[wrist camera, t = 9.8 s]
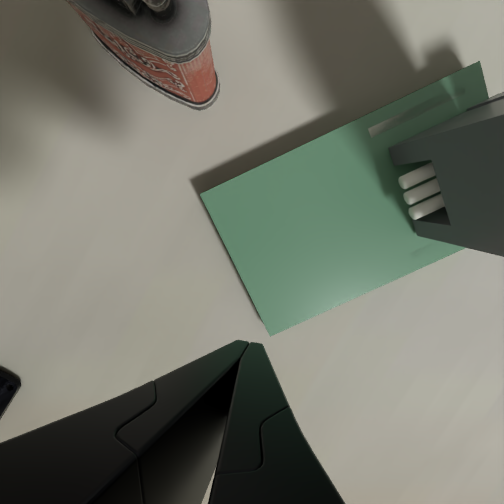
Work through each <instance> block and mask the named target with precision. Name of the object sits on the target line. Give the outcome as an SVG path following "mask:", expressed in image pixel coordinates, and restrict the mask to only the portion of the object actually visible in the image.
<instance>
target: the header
mask: <svg viewBox="0 0 504 504" xmlns="http://www.w3.org/2000/svg"><path fill="white" fill-rule="evenodd" d="M501 99H504V92H502V93H500V94H497V95H495V96H493V97H491V98H488V99H486V100H484V101H482V102H480V103H478V104H476V105H474V106H472V107H469V108H467V111H469V110H472V109H475V108H478V107H481V106H484V105H487V104H489V103H492V102H495V101H498V100H501ZM435 175H436V174H435V171H434V168H433V164H432V162H431V163H428V164H426V165H424V166H422V167H420V168H418V169H416V170H413V171H411V172H409V173H407V174H405V175H403V176H401V177H399V179H398V181H399V185H400V186H401V187H402V188H403V189H407V188H409V187H411V186H413V185H415V184H418V183H420V182H422V181H424V180H426V179H428V178H431V177H433V176H435ZM439 191H440V188H439V184H438V181H437V178H435V179H433V180H431V181H429V182H427V183H424V184H422V185H420V186H418V187H416V188H414V189H411V190H409V191H407V192H405V193H404V195H403V196H404V200H405V201H406V203H407V204H409V205H411V204H413V203H415V202H417V201H420V200H422V199H424V198H426V197H428V196H430V195H433V194H435V193H437V192H439ZM442 207H445V204H444V201H443V198H442V194H439V195H437V196H434V197H432V198H430V199H428V200H426V201H424V202H421V203H419V204H417V205H415V206H413V207H411V208H409V210H408V211H409V215H410V216H411V218H412V219H414V220H416V219H418V218H421V217H423V216H425V215H427V214H429V213H432V212H434V211H436V210H438V209H440V208H442Z"/></svg>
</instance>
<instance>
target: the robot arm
mask: <svg viewBox="0 0 504 504" xmlns="http://www.w3.org/2000/svg"><path fill="white" fill-rule="evenodd" d="M11 385H12V386H13V387H12V386H11ZM20 387H21V382H20V381H19V380H18V379H16V378H14V377H12V376H10V375H8V374H6V373H4V372H2V371H0V419H1V418H2V416H3V414H4V413H5V411H6V410H7V408H8V406H9V405H10V403H11V402H12V400H13V398H14V397H15V395H16V394H17V392H18V390H19V389H20ZM216 465H217V466H216ZM215 467H216V470H215ZM214 470H215V475H214V479H213V483H212V488H211V492H210V497H209V502H208V504H345V502H344V501H343V499H342V497H341V496H340V494H339V493H338V491H337V489H336V488H335V486H334V485H333V483H332V481H331V480H330V478H329V476H328V475H327V473H326V472H325V470H324V468H323V467H322V465H321V464H320V462H319V460H318V459H317V457H316V456H315V454H314V452H313V451H312V449H311V447H310V445H309V444H308V442H307V440H306V439H305V437H304V435H303V433H302V431H301V429H300V427H299V425H298V423H297V421H296V419H295V417H294V414H293V412H292V410H291V408H290V406H289V404H288V401H287V399H286V397H285V395H284V392H283V390H282V388H281V385H280V383H279V381H278V378H277V376H276V374H275V372H274V369H273V367H272V365H271V362H270V360H269V358H268V355H267V353H266V351H265V349H264V346H263V345H262V344H260V343H254V342H251V343H249V342H247V341H242V340H236V341H234V342H232V343H230V344H228V345H226V346H223V347H221V348H219V349H217V350H215V351H213V352H211V353H209V354H207V355H205V356H203V357H201V358H199V359H197V360H195V361H193V362H190V363H188V364H186V365H184V366H182V367H180V368H178V369H176V370H174V371H172V372H170V373H168V374H166V375H164V376H162V377H159V378H157V379H155V380H154V381H150V382H148V383H146V384H144V385H142V386H140V387H138V388H135V389H133V390H131V391H129V392H127V393H124V394H122V395H120V396H118V397H115V398H113V399H110V400H108V401H105V402H103V403H100V404H98V405H96V406H93V407H90V408H88V409H85V410H83V411H80V412H78V413H75V414H73V415H70V416H68V417H65V418H63V419H60V420H57V421H55V422H52V423H50V424H47V425H45V426H42V427H40V428H37V429H35V430H32V431H30V432H27V433H24V434H22V435H19V436H17V437H14V438H12V439H9V440H7V441H4V442H2V443H0V504H201V503H202V500H203V498H204V495H205V493H206V490H207V488H208V485H209V483H210V480H211V478H212V475H213V473H214Z"/></svg>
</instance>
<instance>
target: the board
mask: <svg viewBox="0 0 504 504" xmlns="http://www.w3.org/2000/svg"><path fill="white" fill-rule="evenodd" d="M488 98H489V97H488V93H487V88H486V84H485V80H484V76H483V72H482V68H481V64H480V61H478V62H476V63H474V64H472V65H470V66H468V67H466V68H463V69H461V70H459V71H457V72H455V73H453V74H451V75H449V76H447V77H445V78H442V79H440V80H438V81H436V82H434V83H432V84H430V85H428V86H426V87H424V88H422V89H419V90H417V91H415V92H413V93H411V94H409V95H407V96H405V97H403V98H401V99H398V100H396V101H394V102H392V103H390V104H388V105H386V106H384V107H382V108H380V109H377V110H375V111H373V112H371V113H369V114H367V115H365V116H363V117H361V118H359V119H356V120H354V121H352V122H350V123H348V124H346V125H344V126H342V127H340V128H338V129H336V130H333V131H331V132H329V133H327V134H325V135H323V136H321V137H319V138H317V139H315V140H312V141H310V142H308V143H306V144H304V145H302V146H300V147H298V148H296V149H294V150H291V151H289V152H287V153H285V154H283V155H281V156H279V157H277V158H275V159H273V160H270V161H268V162H266V163H264V164H262V165H260V166H258V167H256V168H254V169H252V170H250V171H247V172H245V173H243V174H241V175H239V176H237V177H235V178H233V179H231V180H229V181H226V182H224V183H222V184H220V185H218V186H216V187H214V188H212V189H210V190H208V191H205V192H203V193H201V194H200V196H201V198H202V200H203V202H204V204H205V206H206V208H207V210H208V212H209V214H210V216H211V218H212V220H213V222H214V224H215V226H216V228H217V230H218V232H219V234H220V236H221V238H222V240H223V242H224V244H225V246H226V248H227V250H228V252H229V254H230V256H231V258H232V260H233V262H234V264H235V266H236V268H237V270H238V273H239V275H240V277H241V279H242V281H243V283H244V285H245V287H246V289H247V291H248V293H249V295H250V297H251V299H252V301H253V303H254V305H255V307H256V309H257V311H258V313H259V315H260V317H261V319H262V321H263V323H264V325H265V327H266V329H267V331H268V333H269V335H270V336H272V335H274V334H277V333H279V332H281V331H283V330H285V329H288V328H290V327H292V326H294V325H296V324H299V323H301V322H303V321H305V320H308V319H310V318H312V317H314V316H316V315H319V314H321V313H323V312H325V311H327V310H330V309H332V308H334V307H336V306H338V305H341V304H343V303H345V302H347V301H350V300H352V299H354V298H356V297H358V296H361V295H363V294H365V293H367V292H369V291H372V290H374V289H376V288H378V287H380V286H383V285H385V284H387V283H389V282H391V281H394V280H396V279H398V278H400V277H403V276H405V275H407V274H409V273H411V272H414V271H416V270H418V269H420V268H422V267H425V266H427V265H429V264H431V263H433V262H436V261H438V260H440V259H442V258H445V257H447V256H449V255H451V254H453V253H456V252H458V251H460V250H462V249H464V248H466V247H461V246H457V245H453V244H449V243H445V242H441V241H436V240H432V239H428V238H424V237H420V236H417V234H416V231H415V227H414V224H413V221H412V220H413V219H412V218H411V216H410V215H409V211H408V210H409V208H411V207H413V206H415V205H417V204H419V203H421V202H424V201H426V200H428V199H430V198H432V197H434V196H437V195H439V194H441V191H439V192H437V193H435V194H433V195H430V196H428V197H426V198H424V199H422V200H420V201H417V202H415V203H413V204H411V205H409V204H407V203H406V201H405V200H404V196H403V195H404V193H405V192H407V191H409V190H411V189H414V188H416V187H418V186H420V185H422V184H424V183H427V182H429V181H431V180H433V179H435V178H436V175H435V176H433V177H431V178H428V179H426V180H424V181H422V182H420V183H418V184H415V185H413V186H411V187H409V188H407V189H403V188H402V187H401V186H400V185H399V181H398V179H399V177H401V176H403V175H405V174H407V173H409V172H411V171H413V170H416V169H418V168H420V167H422V166H424V165H426V164H428V163H431V162H432V161H431V160H427V161H421V162H415V163H409V164H402V165H396V166H394V164H393V161H392V158H391V155H390V152H389V149H388V148H389V147H391V146H393V145H395V144H397V143H400V142H402V141H404V140H406V139H408V138H410V137H412V136H414V135H417V134H419V133H421V132H423V131H425V130H427V129H429V128H431V127H433V126H436V125H438V124H440V123H442V122H444V121H446V120H448V119H450V118H453V117H455V116H457V115H459V114H461V113H464V112H466V111H467V108H469V107H472V106H474V105H476V104H478V103H480V102H482V101H484V100H486V99H488Z"/></svg>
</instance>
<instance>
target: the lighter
mask: <svg viewBox="0 0 504 504" xmlns="http://www.w3.org/2000/svg"><path fill="white" fill-rule="evenodd" d="M66 1H67V2H68V3H69V4H70V5H71V6H72V7H73V9H74V10H75V11H76V12H77V13H78V14H79V15H80V16H81V18H82V19H83V20H84V21H85V22H86V23H87V24H88V26H89V27H90V28H91V31H92V34H93V36H94V37H95V38H96V40H97V41H98V42H99V43H100V44H101V45H102V46H103V48H104V49H105V50H106V51H108V52H109V53H110V54H111V55H112V56H113V57H114V58H115V59H116V60H117V61H118V62H119V63H120V64H121V65H122V66H123V67H124V68H125V69H126V70H128V71H129V72H130V73H132V74H133V75H134V76H135V77H137V78H138V79H139V80H141V81H142V82H143V83H144V84H146V85H147V86H149V87H150V88H152V89H154V90H155V91H157V92H159V93H161V94H162V95H164V96H166V97H167V98H169V99H171V100H173V101H176V102H178V103H180V104H182V105H185V106H187V107H189V108H192V109H194V110H199V111H201V110H205V109H208V108H209V107H211V106H212V105H213V104H214V103H215V101H216V100H217V98H218V95H219V92H220V81H219V76H218V72H217V71H216V69H215V67H214V64H213V58H212V52H211V46H210V40H209V38H210V34H211V18H210V11H209V6H208V2H207V0H66Z"/></svg>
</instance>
